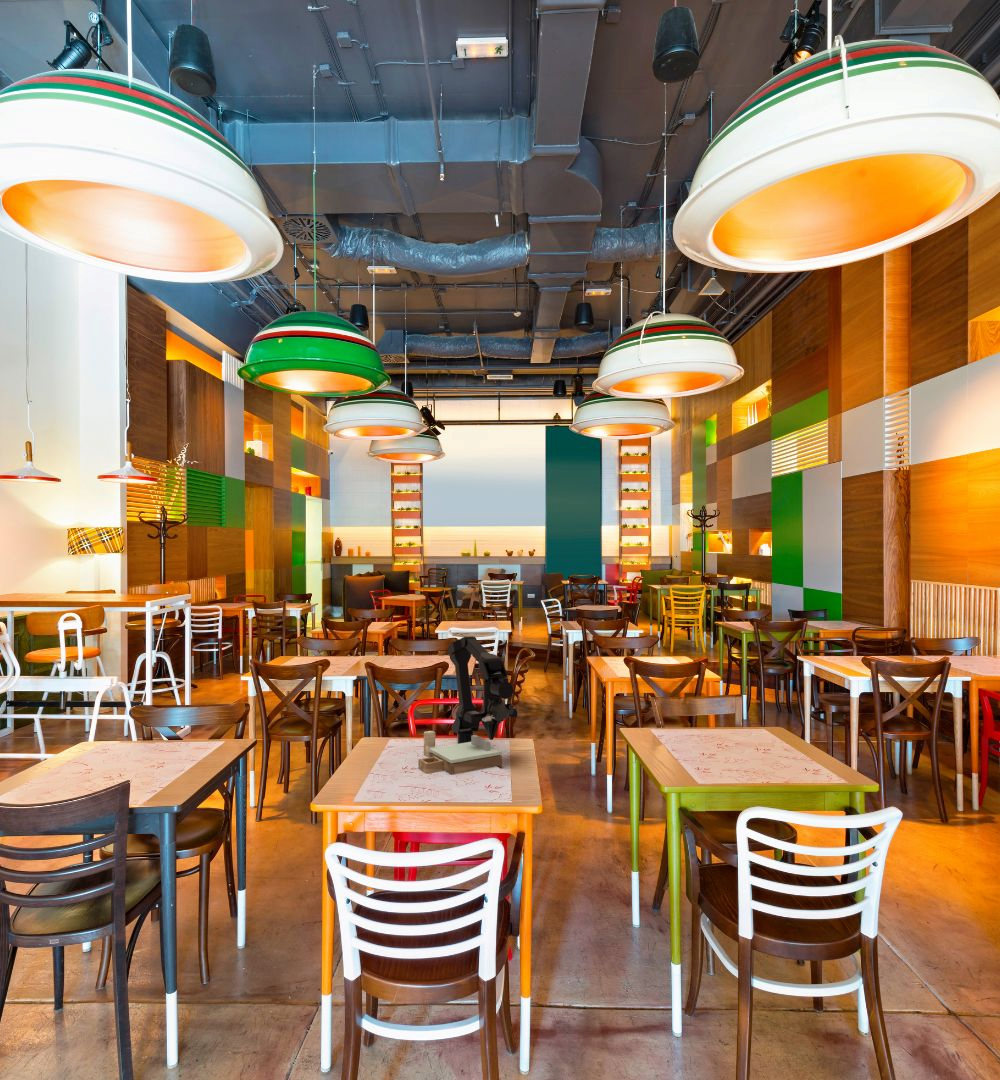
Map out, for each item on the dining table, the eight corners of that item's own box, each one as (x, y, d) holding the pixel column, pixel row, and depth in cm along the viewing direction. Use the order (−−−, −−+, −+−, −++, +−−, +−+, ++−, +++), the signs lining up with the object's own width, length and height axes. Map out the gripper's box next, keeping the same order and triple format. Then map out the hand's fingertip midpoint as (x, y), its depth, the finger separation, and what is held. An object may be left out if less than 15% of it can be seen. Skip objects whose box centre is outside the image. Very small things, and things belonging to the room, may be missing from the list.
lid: (429, 751, 223) (429, 739, 223) (477, 743, 233) (477, 732, 233) (450, 763, 209) (451, 750, 210) (501, 754, 219) (501, 742, 220)
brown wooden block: (423, 757, 231) (423, 731, 232) (431, 756, 233) (431, 730, 233) (427, 759, 229) (427, 733, 229) (435, 758, 230) (435, 732, 231)
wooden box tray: (412, 767, 220) (412, 755, 220) (477, 756, 233) (477, 744, 233) (433, 781, 206) (433, 767, 206) (501, 768, 219) (501, 755, 219)
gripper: (479, 701, 216) (479, 749, 215) (526, 695, 226) (526, 741, 225) (463, 695, 225) (463, 741, 224) (509, 689, 235) (509, 734, 234)
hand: (491, 739), depth 227 cm, fingers closed
